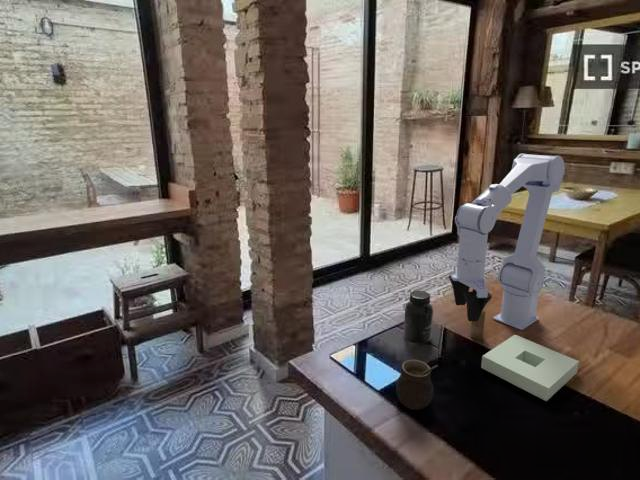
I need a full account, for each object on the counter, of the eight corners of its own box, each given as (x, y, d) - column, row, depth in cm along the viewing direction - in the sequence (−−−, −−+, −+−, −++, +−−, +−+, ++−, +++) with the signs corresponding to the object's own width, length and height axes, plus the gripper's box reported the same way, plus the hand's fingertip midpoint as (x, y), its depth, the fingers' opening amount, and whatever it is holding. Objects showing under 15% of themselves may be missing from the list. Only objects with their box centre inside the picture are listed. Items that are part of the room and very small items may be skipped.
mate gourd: (398, 386, 83) (401, 344, 80) (436, 395, 80) (440, 352, 77) (391, 408, 77) (393, 364, 74) (431, 419, 74) (435, 374, 71)
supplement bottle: (432, 346, 97) (435, 301, 93) (403, 343, 98) (405, 299, 95) (430, 331, 104) (433, 289, 100) (403, 329, 105) (405, 287, 101)
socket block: (513, 345, 97) (514, 334, 96) (576, 373, 86) (579, 361, 85) (480, 367, 89) (482, 355, 88) (546, 401, 78) (548, 388, 77)
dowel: (474, 331, 103) (477, 307, 101) (485, 336, 101) (488, 311, 99) (467, 335, 101) (470, 310, 99) (478, 340, 99) (481, 315, 97)
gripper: (442, 247, 95) (439, 299, 99) (466, 270, 82) (461, 329, 86) (472, 246, 96) (467, 297, 100) (500, 269, 82) (493, 327, 86)
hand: (466, 312), depth 93 cm, fingers open, 7 cm apart
